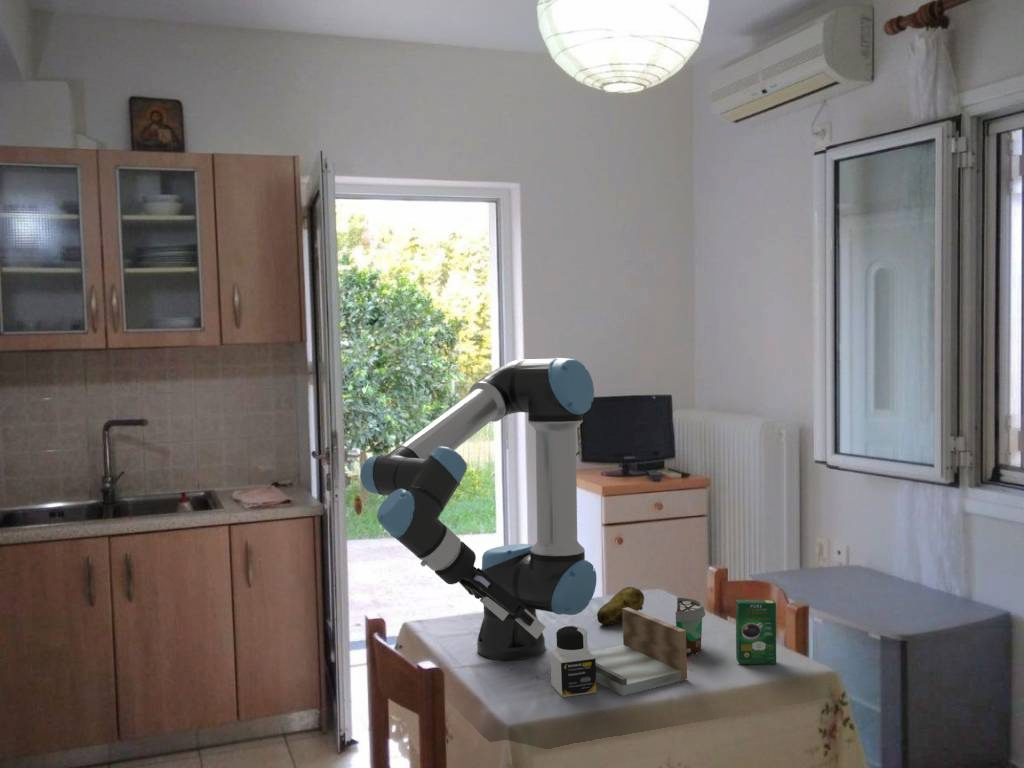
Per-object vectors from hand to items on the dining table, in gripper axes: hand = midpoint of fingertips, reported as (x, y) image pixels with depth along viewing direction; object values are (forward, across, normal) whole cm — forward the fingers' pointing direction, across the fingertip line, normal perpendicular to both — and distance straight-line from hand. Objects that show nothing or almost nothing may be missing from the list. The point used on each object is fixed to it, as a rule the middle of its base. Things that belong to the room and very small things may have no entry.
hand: (523, 623), depth 179 cm
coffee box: (+46, +8, +25) cm, 53 cm away
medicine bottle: (+18, 0, -3) cm, 18 cm away
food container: (+42, -6, +21) cm, 47 cm away
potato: (+41, -32, +20) cm, 56 cm away
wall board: (+27, -2, +6) cm, 28 cm away
